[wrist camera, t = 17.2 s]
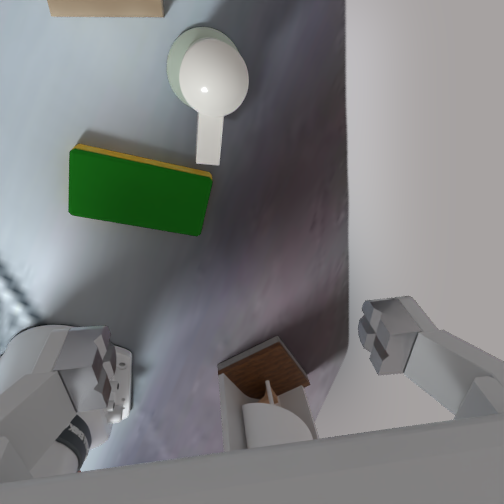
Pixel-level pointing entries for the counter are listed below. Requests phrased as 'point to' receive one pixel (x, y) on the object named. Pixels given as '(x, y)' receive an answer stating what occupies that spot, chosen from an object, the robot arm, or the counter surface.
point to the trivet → (180, 49)
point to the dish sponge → (137, 190)
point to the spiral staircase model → (264, 398)
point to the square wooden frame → (106, 8)
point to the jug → (212, 91)
